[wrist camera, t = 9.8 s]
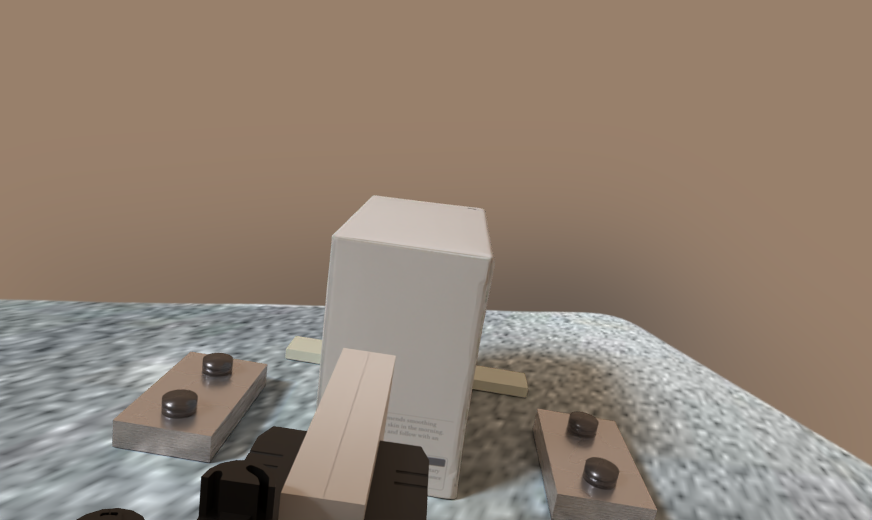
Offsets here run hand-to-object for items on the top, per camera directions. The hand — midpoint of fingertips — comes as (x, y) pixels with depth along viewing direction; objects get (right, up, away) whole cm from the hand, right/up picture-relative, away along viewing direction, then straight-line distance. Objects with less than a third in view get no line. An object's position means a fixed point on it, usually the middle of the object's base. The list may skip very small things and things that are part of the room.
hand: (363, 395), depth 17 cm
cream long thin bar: (0, -3, +18) cm, 18 cm away
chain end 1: (-9, -3, +11) cm, 14 cm away
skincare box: (0, -4, +12) cm, 13 cm away
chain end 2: (+9, -6, +10) cm, 15 cm away
